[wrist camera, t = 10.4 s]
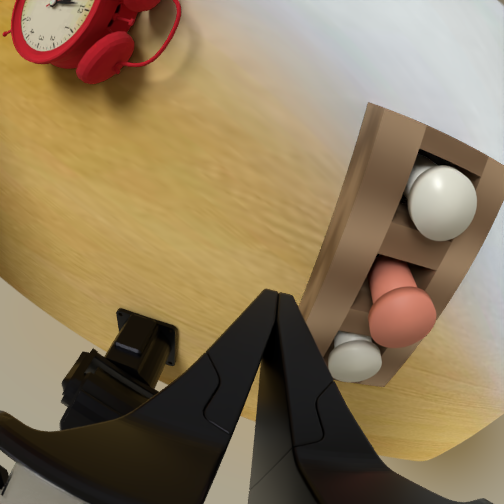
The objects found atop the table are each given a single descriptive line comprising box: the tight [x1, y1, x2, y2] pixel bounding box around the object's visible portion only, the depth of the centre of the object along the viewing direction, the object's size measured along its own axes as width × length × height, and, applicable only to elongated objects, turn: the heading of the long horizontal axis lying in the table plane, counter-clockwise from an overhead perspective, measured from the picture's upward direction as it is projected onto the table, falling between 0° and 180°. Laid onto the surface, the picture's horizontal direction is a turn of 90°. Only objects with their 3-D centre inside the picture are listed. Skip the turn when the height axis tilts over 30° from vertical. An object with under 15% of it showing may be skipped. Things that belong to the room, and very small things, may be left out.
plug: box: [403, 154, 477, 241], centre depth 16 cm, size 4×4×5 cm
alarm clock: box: [3, 0, 181, 84], centre depth 13 cm, size 10×6×15 cm
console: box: [298, 102, 504, 387], centre depth 20 cm, size 20×9×4 cm, turn 169°
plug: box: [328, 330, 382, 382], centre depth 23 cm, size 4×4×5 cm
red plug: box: [367, 255, 436, 348], centre depth 18 cm, size 4×4×5 cm
